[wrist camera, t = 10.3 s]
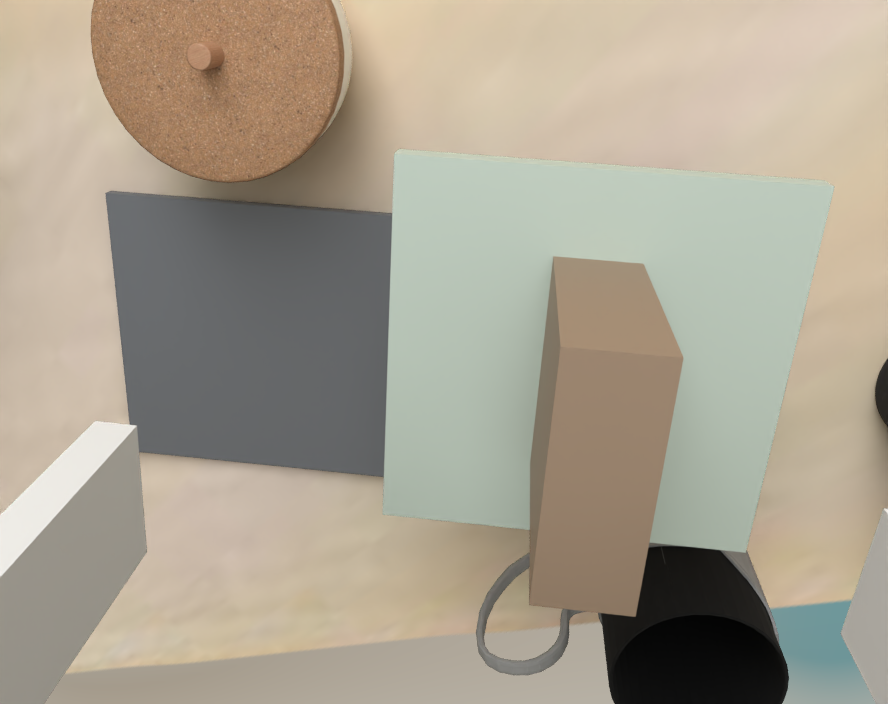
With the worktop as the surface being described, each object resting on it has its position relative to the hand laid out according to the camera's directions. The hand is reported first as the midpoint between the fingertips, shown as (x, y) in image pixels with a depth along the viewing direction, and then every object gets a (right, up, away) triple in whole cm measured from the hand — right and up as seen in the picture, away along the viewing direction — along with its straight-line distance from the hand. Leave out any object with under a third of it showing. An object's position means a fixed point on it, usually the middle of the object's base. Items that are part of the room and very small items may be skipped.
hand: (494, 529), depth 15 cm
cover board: (+4, +3, +15) cm, 16 cm away
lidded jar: (-10, +19, +27) cm, 34 cm away
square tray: (-12, +4, +33) cm, 35 cm away
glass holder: (+9, -5, +35) cm, 37 cm away
